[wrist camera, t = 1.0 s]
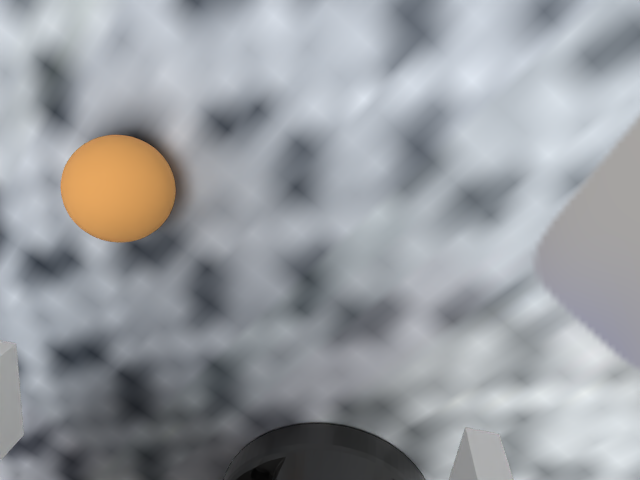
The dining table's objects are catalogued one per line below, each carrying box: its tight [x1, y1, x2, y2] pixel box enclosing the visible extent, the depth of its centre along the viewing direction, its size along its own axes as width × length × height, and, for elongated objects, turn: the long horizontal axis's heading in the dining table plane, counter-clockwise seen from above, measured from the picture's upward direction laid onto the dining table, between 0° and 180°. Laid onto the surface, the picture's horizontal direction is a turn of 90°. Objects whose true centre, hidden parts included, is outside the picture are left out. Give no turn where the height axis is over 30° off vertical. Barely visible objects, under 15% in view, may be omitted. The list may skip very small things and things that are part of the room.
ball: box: [61, 135, 176, 242], centre depth 27 cm, size 6×6×6 cm
